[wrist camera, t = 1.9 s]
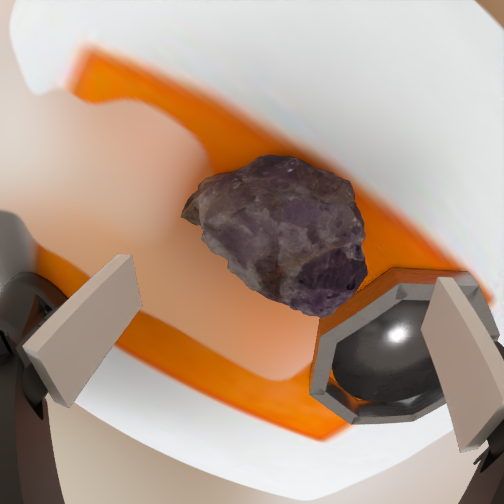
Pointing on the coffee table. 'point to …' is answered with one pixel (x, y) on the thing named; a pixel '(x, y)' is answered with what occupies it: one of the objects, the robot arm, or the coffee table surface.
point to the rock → (285, 231)
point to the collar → (385, 349)
